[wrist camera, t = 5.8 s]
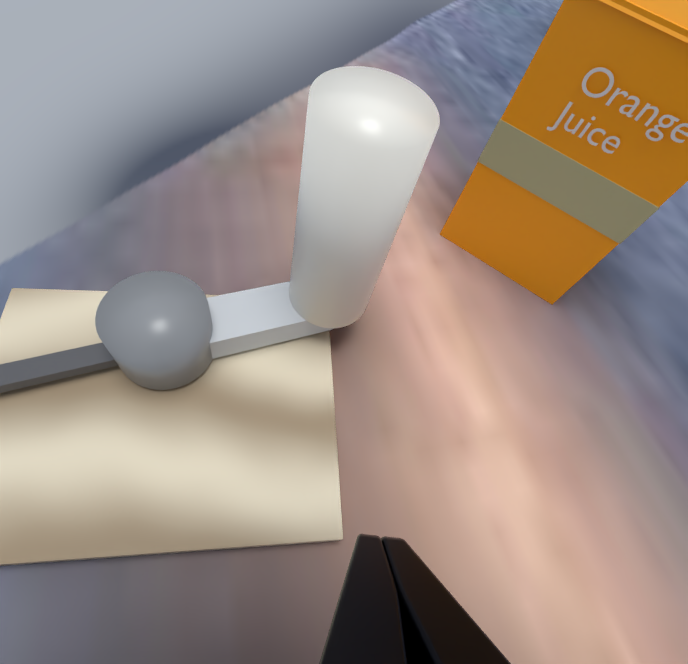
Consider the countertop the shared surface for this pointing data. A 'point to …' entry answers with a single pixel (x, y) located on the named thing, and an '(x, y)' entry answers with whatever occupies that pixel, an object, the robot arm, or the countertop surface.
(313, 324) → the crank handle
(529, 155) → the orange juice
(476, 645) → the robot arm
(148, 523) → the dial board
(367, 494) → the countertop surface
